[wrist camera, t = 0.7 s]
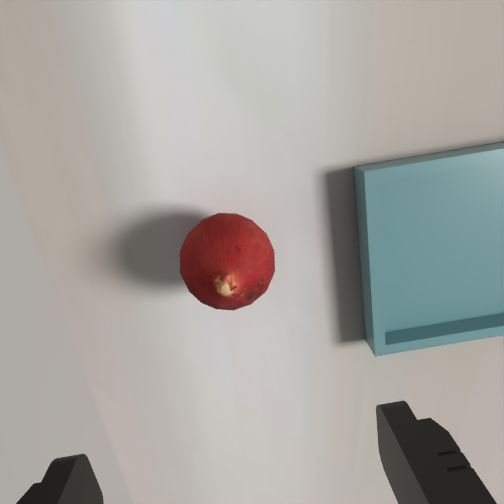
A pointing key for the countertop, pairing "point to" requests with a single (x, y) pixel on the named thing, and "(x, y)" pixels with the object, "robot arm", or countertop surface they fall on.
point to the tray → (432, 248)
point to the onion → (227, 261)
